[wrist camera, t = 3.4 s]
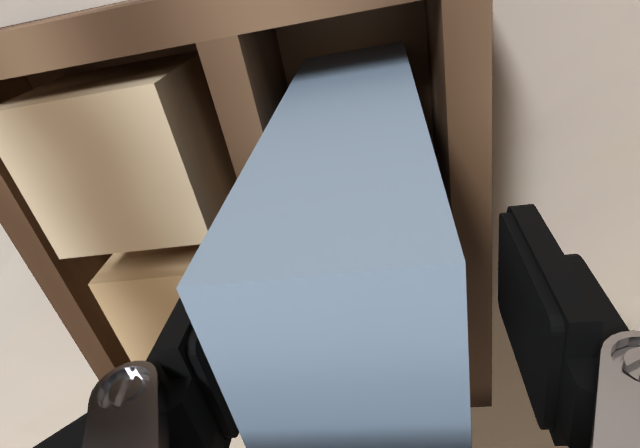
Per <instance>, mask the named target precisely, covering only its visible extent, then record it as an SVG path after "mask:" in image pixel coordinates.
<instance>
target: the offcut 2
mask: <svg viewBox="0 0 640 448" xmlns="http://www.w3.org/2000/svg"><path fill="white" fill-rule="evenodd" d="M200 245H201V244H197V245H188V246H179V247H169V248H160V249H151V250H141V251H132V252H123V253H113V254H112V256H111V257H110V258H109V259H108V260H107V262H106V263H105V264H104V265H103V267H102V268H101V269H100V270H99V271H98V273H97V274H96V275H95V276H94V278H93V279H92V280H91V281H90V282H89V284H88V286H89V287H90V289H91V291H92V293H93V295H94V296H95V298H96V300H97V302H98V303H99V305H100V307H101V309H102V311H103V312H104V314H105V316H106V318H107V320H108V321H109V323H110V325H111V327H112V328H113V330H114V332H115V334H116V336H117V337H118V339H119V341H120V343H121V345H122V346H123V348H124V350H125V352H126V353H127V355H128V357H129V359H130V361H131V362H132V361H146V359H147V357H148V355H149V354H150V352H151V350H152V348H153V346H154V344H155V342H156V340H157V339H158V337H159V335H160V333H161V331H162V329H163V327H164V326H165V324H166V322H167V320H168V318H169V316H170V314H171V312H172V311H173V309H174V307H175V305H176V303H177V301H178V299H179V298H180V296H179V294H178V291H177V289H176V288H177V286H178V284H179V282H180V280H181V279H182V277H183V275H184V273H185V271H186V270H187V268H188V266H189V264H190V262H191V261H192V259H193V257H194V255H195V254H196V252H197V250H198V248H199V246H200Z"/></svg>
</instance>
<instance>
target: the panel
mask: <svg viewBox="0 0 640 448" xmlns="http://www.w3.org/2000/svg"><path fill="white" fill-rule="evenodd" d="M176 289H177V291H178V294H179V296H180V298H181V301H182V303H183V305H184V307H185V310H186V312H187V314H188V316H189V319H190V321H191V323H192V326H193V328H194V330H195V332H196V335H197V337H198V339H199V341H200V344H201V346H202V348H203V351H204V353H205V355H206V357H207V360H208V362H209V364H210V367H211V369H212V371H213V373H214V376H215V378H216V380H217V382H218V385H219V387H220V389H221V392H222V394H223V396H224V398H225V401H226V403H227V405H228V407H229V410H230V412H231V414H232V417H233V419H234V421H235V423H236V426H237V428H238V430H239V433H240V435H241V437H242V439H243V442H244V444H245V446H246V448H472V442H471V412H470V382H469V352H468V322H467V292H466V262H465V259H464V255H463V252H462V248H461V245H460V241H459V238H458V234H457V230H456V227H455V223H454V220H453V216H452V213H451V209H450V206H449V202H448V199H447V195H446V192H445V188H444V185H443V181H442V177H441V174H440V170H439V167H438V163H437V160H436V156H435V153H434V149H433V146H432V142H431V139H430V135H429V132H428V128H427V124H426V121H425V117H424V114H423V110H422V107H421V103H420V100H419V96H418V93H417V89H416V86H415V82H414V79H413V75H412V71H411V68H410V64H409V61H408V57H407V54H406V50H405V47H404V43H403V41H402V42H396V43H391V44H385V45H379V46H373V47H368V48H362V49H356V50H351V51H345V52H339V53H334V54H328V55H322V56H317V57H311V58H305V59H304V60H303V62H302V64H301V66H300V67H299V69H298V71H297V73H296V75H295V76H294V78H293V80H292V82H291V84H290V85H289V87H288V89H287V91H286V93H285V94H284V96H283V98H282V100H281V101H280V103H279V105H278V107H277V109H276V110H275V112H274V114H273V116H272V118H271V119H270V121H269V123H268V125H267V127H266V128H265V130H264V132H263V134H262V135H261V137H260V139H259V141H258V143H257V144H256V146H255V148H254V150H253V152H252V153H251V155H250V157H249V159H248V161H247V162H246V164H245V166H244V168H243V169H242V171H241V173H240V175H239V177H238V178H237V180H236V182H235V184H234V186H233V187H232V189H231V191H230V193H229V194H228V196H227V198H226V200H225V202H224V203H223V205H222V207H221V209H220V211H219V212H218V214H217V216H216V218H215V220H214V221H213V223H212V225H211V227H210V228H209V230H208V232H207V234H206V236H205V237H204V239H203V241H202V243H201V245H200V246H199V248H198V250H197V252H196V254H195V255H194V257H193V259H192V261H191V262H190V264H189V266H188V268H187V270H186V271H185V273H184V275H183V277H182V279H181V280H180V282H179V284H178V286H177V288H176Z"/></svg>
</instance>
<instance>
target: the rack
mask: <svg viewBox="0 0 640 448" xmlns="http://www.w3.org/2000/svg"><path fill="white" fill-rule="evenodd" d="M402 41H403V43H404V47H405V50H406V54H407V57H408V61H409V64H410V68H411V71H412V75H413V79H414V82H415V86H416V89H417V93H418V96H419V100H420V103H421V107H422V110H423V114H424V117H425V121H426V124H427V128H428V132H429V135H430V139H431V142H432V146H433V149H434V153H435V156H436V160H437V163H438V167H439V170H440V174H441V177H442V181H443V185H444V188H445V192H446V195H447V199H448V202H449V206H450V209H451V213H452V216H453V220H454V223H455V227H456V230H457V234H458V238H459V241H460V245H461V248H462V252H463V255H464V259H465V262H466V292H467V322H468V352H469V382H470V407H485V406H492V0H128V1H123V2H118V3H114V4H109V5H104V6H100V7H95V8H90V9H86V10H81V11H76V12H72V13H67V14H62V15H58V16H53V17H48V18H44V19H39V20H34V21H30V22H25V23H20V24H16V25H11V26H6V27H1V28H0V104H1V103H3V102H5V101H8V100H10V99H12V98H14V97H16V96H19V95H21V94H23V93H25V92H28V91H30V90H32V89H34V88H36V87H39V86H41V85H43V84H45V83H48V82H50V81H52V80H54V79H56V78H59V77H61V76H63V75H68V74H73V73H78V72H84V71H89V70H94V69H100V68H105V67H110V66H116V65H121V64H127V63H132V62H137V61H143V60H148V59H153V58H159V57H164V56H169V55H175V54H180V53H185V52H191V51H196V50H198V53H199V57H200V60H201V63H202V66H203V70H204V73H205V76H206V79H207V83H208V86H209V89H210V92H211V96H212V99H213V102H214V105H215V109H216V112H217V115H218V118H219V122H220V125H221V128H222V132H223V135H224V138H225V141H226V145H227V148H228V151H229V154H230V158H231V161H232V164H233V167H234V171H235V174H236V177H237V178H238V177H239V175H240V173H241V171H242V169H243V168H244V166H245V164H246V162H247V161H248V159H249V157H250V155H251V153H252V152H253V150H254V148H255V146H256V144H257V143H258V141H259V139H260V137H261V135H262V134H263V132H264V130H265V128H266V127H267V125H268V123H269V121H270V119H271V118H272V116H273V114H274V112H275V110H276V109H277V107H278V105H279V103H280V101H281V100H282V98H283V96H284V94H285V93H286V91H287V89H288V87H289V85H290V84H291V82H292V80H293V78H294V76H295V75H296V73H297V71H298V69H299V67H300V66H301V64H302V62H303V60H304V59H305V58H311V57H317V56H322V55H328V54H334V53H339V52H345V51H351V50H356V49H362V48H368V47H373V46H379V45H385V44H391V43H396V42H402ZM0 223H1V225H2V226H3V228H4V230H5V231H6V233H7V234H8V236H9V238H10V239H11V241H12V242H13V244H14V246H15V247H16V249H17V250H18V252H19V254H20V255H21V257H22V258H23V260H24V261H25V263H26V265H27V266H28V268H29V269H30V271H31V273H32V274H33V276H34V277H35V279H36V281H37V282H38V284H39V285H40V287H41V289H42V290H43V292H44V293H45V295H46V297H47V298H48V300H49V301H50V303H51V304H52V306H53V308H54V309H55V311H56V312H57V314H58V316H59V317H60V319H61V320H62V322H63V324H64V325H65V327H66V328H67V330H68V332H69V333H70V335H71V336H72V338H73V340H74V341H75V343H76V344H77V346H78V347H79V349H80V351H81V352H82V354H83V355H84V357H85V359H86V360H87V362H88V363H89V365H90V367H91V368H92V370H93V371H94V373H95V375H96V376H97V378H98V379H99V381H100V380H101V379H102V378H103V377H104V376H105V375H106V374H107V373H108V372H110V371H111V370H113V369H114V368H116V367H118V366H120V365H122V364H125V363H128V362H131V361H130V359H129V357H128V355H127V353H126V352H125V350H124V348H123V346H122V345H121V343H120V341H119V339H118V337H117V336H116V334H115V332H114V330H113V328H112V327H111V325H110V323H109V321H108V320H107V318H106V316H105V314H104V312H103V311H102V309H101V307H100V305H99V303H98V302H97V300H96V298H95V296H94V295H93V293H92V291H91V289H90V287H89V286H88V284H89V282H90V281H91V280H92V279H93V278H94V276H95V275H96V274H97V273H98V271H99V270H100V269H101V268H102V267H103V265H104V264H105V263H106V262H107V260H108V259H109V258H110V257H111V256H112V254H104V255H94V256H85V257H76V258H66V259H59V258H58V256H57V254H56V252H55V251H54V249H53V247H52V245H51V244H50V242H49V240H48V239H47V237H46V235H45V233H44V232H43V230H42V228H41V226H40V225H39V223H38V221H37V220H36V218H35V216H34V214H33V213H32V211H31V209H30V207H29V206H28V204H27V202H26V201H25V199H24V197H23V195H22V194H21V192H20V190H19V188H18V187H17V185H16V183H15V182H14V180H13V178H12V176H11V175H10V173H9V171H8V169H7V168H6V166H5V164H4V163H3V161H2V159H1V157H0ZM88 404H89V403H88Z"/></svg>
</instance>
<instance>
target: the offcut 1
mask: <svg viewBox="0 0 640 448" xmlns="http://www.w3.org/2000/svg"><path fill="white" fill-rule="evenodd" d="M0 157H1V159H2V161H3V163H4V164H5V166H6V168H7V169H8V171H9V173H10V175H11V176H12V178H13V180H14V182H15V183H16V185H17V187H18V188H19V190H20V192H21V194H22V195H23V197H24V199H25V201H26V202H27V204H28V206H29V207H30V209H31V211H32V213H33V214H34V216H35V218H36V220H37V221H38V223H39V225H40V226H41V228H42V230H43V232H44V233H45V235H46V237H47V239H48V240H49V242H50V244H51V245H52V247H53V249H54V251H55V252H56V254H57V256H58V258H59V259H66V258H76V257H85V256H94V255H104V254H113V253H123V252H132V251H141V250H151V249H160V248H169V247H179V246H188V245H197V244H201V243H202V241H203V239H204V237H205V236H206V234H207V232H208V230H209V228H210V227H211V225H212V223H213V221H214V220H215V218H216V216H217V214H218V212H219V211H220V209H221V207H222V205H223V203H224V202H225V200H226V198H227V196H228V194H229V193H230V191H231V189H232V187H233V186H234V184H235V182H236V180H237V177H236V174H235V171H234V167H233V164H232V161H231V158H230V154H229V151H228V148H227V145H226V141H225V138H224V135H223V132H222V128H221V125H220V122H219V118H218V115H217V112H216V109H215V105H214V102H213V99H212V96H211V92H210V89H209V86H208V83H207V79H206V76H205V73H204V70H203V66H202V63H201V60H200V57H199V53H198V50H196V51H191V52H185V53H180V54H175V55H169V56H164V57H159V58H153V59H148V60H143V61H137V62H132V63H127V64H121V65H116V66H110V67H105V68H100V69H94V70H89V71H84V72H78V73H73V74H68V75H63V76H61V77H59V78H56V79H54V80H52V81H50V82H48V83H45V84H43V85H41V86H39V87H36V88H34V89H32V90H30V91H28V92H25V93H23V94H21V95H19V96H16V97H14V98H12V99H10V100H8V101H5V102H3V103H1V104H0Z"/></svg>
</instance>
